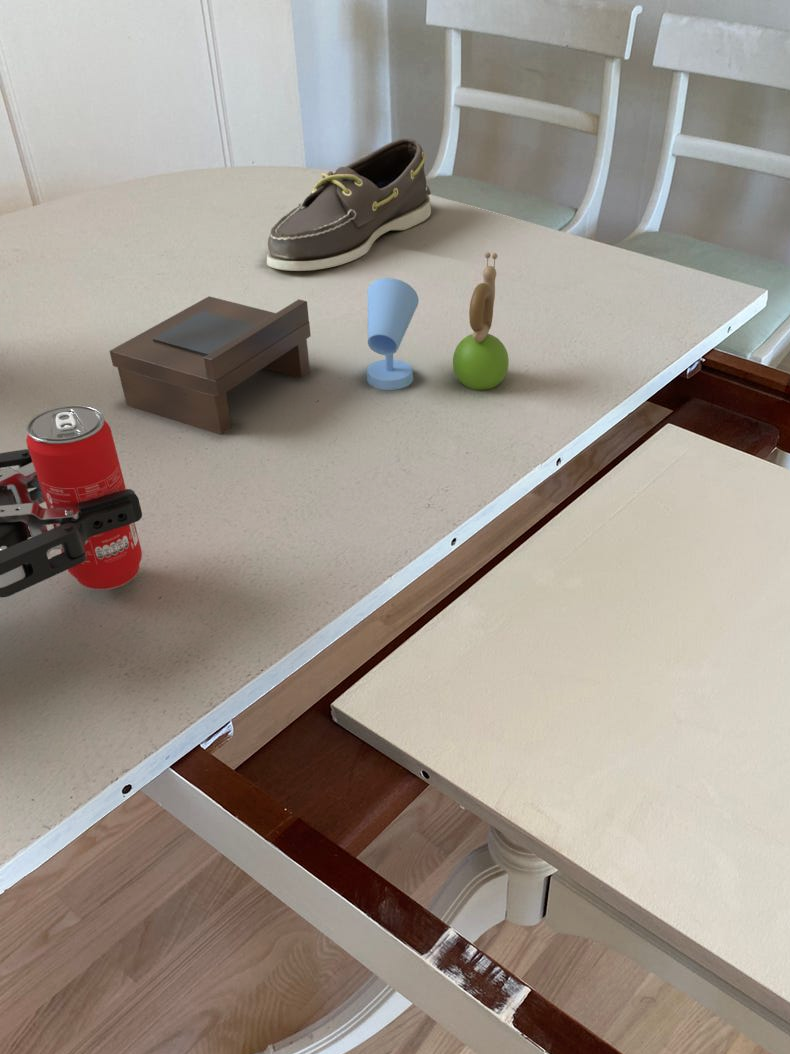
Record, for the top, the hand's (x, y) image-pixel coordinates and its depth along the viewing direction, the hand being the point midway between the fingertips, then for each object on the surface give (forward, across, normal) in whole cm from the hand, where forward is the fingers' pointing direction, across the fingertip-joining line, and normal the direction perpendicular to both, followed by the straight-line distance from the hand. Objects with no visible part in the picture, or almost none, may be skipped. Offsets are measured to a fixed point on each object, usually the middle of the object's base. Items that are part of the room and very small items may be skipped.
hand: (123, 483), depth 67 cm
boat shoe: (+46, -54, -9) cm, 71 cm away
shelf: (+16, -24, -8) cm, 30 cm away
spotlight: (+31, -18, -9) cm, 37 cm away
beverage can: (-3, 0, -7) cm, 7 cm away
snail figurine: (+38, -13, -9) cm, 41 cm away
